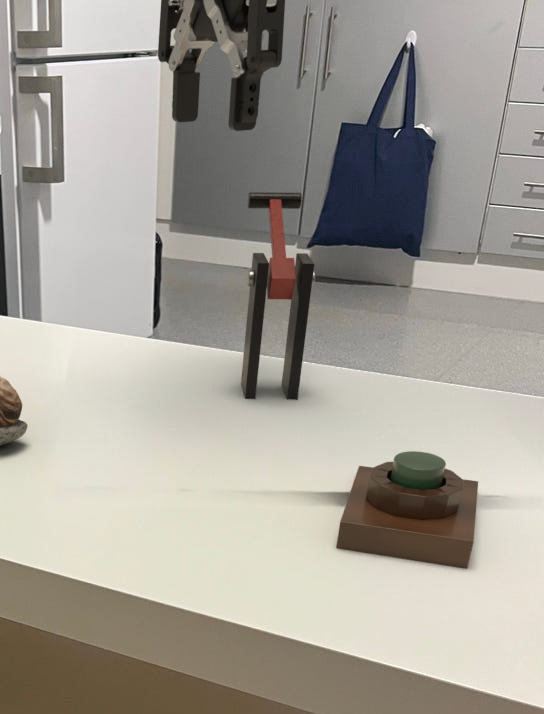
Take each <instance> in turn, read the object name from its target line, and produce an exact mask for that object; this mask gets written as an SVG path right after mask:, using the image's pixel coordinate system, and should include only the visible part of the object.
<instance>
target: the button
mask: <svg viewBox="0 0 544 714" xmlns="http://www.w3.org/2000/svg"><path fill="white" fill-rule="evenodd" d="M392 462H393V467H392V473H391V478H390V481H391V482H392V483H395V484H397V485H400V486H403V487H405V488H412V489H419V490H427V489H438V488H440V487H441V485H442V480H443V475H444V471H445V469H446V466H447V464H446V460H445V459H444V458H442V457H441V456H439V455H437V454H434V453H429V452H426V451H425V452H424V451H414V450H413V451H411V450H409V451H403V452H400V453H397V454H396V455H395V456H394V457H393V461H392Z"/></svg>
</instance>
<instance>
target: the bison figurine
mask: <svg viewBox="0 0 544 714" xmlns="http://www.w3.org/2000/svg"><path fill="white" fill-rule="evenodd" d="M22 410H23V401H22V399H21V398H20V394H19V393H18V391H17V389H15V388H14V387H13V386H12V384H11V383H10V381H9V380H8V379H6V378H4V377H2V376H0V446H4V445H5V444H9V443H11V442H13V441H17V440H18V439H21V438H22V437H23V436H24V435H25V434H26V432H27V430H28V424H27V422H26V421H24V420H21V419H20V417H21V416H22V415H21V414H22Z"/></svg>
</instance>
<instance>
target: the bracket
mask: <svg viewBox="0 0 544 714" xmlns="http://www.w3.org/2000/svg"><path fill="white" fill-rule="evenodd" d="M268 270H269V260H268V258H267V257H266V255H265V253H264V252H252V259H251V269H249V270H247V275H246V276H247V277H246V286H247V287H249V292H248V303H247V314H246V323H245V324H246V325H245V334H244V335H245V336H244V345H243V346H244V347H243V356H242V357H243V358H242V368H241V377H240V378H241V379H240V381H241V382H240V386H241V389H242V393H243V397H244V399H245V400H256V396H257V388H258V378H259V367H260V359H261V358H260V357H261V347H262V339H263V327H264V319H265V310H266V309H265V308H266V298H267V279H268ZM295 273H296V281H295V286H294V291H293V296H292V299H290V308H289V316H288V325H287V333H286V343H285V351H284V361H283V367H282V368H283V369H282V377H281V388H282V390H283V393H284V395H285V398H286V400H289V401H291V400H292V401H294V400H295V401H298V400H299V399H298V398H299V392H300V383H301V376H302V369H303V368H302V366H303V359H304V351H305V343H306V335H307V327H308V318H309V311H310V304H311V296H312V295H311V294H312V288H314V287H315V283H316V271H315V263H314V261H313V260H312V258H311V257H310V255H309V254H308V253H307V252H306V253H305V252H304V253H302V252H301V253H300V252H299V253H298V252H297V253H296V256H295Z"/></svg>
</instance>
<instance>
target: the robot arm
mask: <svg viewBox="0 0 544 714" xmlns="http://www.w3.org/2000/svg"><path fill="white" fill-rule="evenodd" d="M285 9H286V0H160V11H159V30H158V45H157V58H158V61H159V62H160V63H167V64H168V69H169V71H170V72H172V74H173V75H172V96H171V97H172V101H171V108H172V109H171V118H172V120H173V121H174V122H176V123H189V122H195V121H196V120H197V119H198V116H199V104H200V103H199V101H200V82H201V81H200V80H201V72H199V71H198V70H199V68H200V66H201V64H202V62H203V59H204V57H205V54H206V53H207V51H208V50H209V49H211V48H212V47H213V46H214V45H215V42H216V43H218V46H219V49H220V50H221V52H224V53H225V54H226V55H227V58H228V61H229V66H230V69H231V71H232V74H233V76H234V77H231V79H230V80H231V81H230V93H229V94H230V96H229V109H228V128H229V129H230V130H231V131H235V132H241V131H243V132H244V131H252V130H253V129H255V127H256V125H257V119H258V117H259V104H260V103H259V101H260V94H261V93H260V92H261V80H262V77H263V76H265V74H266V72H267V71H269V70H271V69H272V68H278V67H280V65H281V64H282V60H283V47H284V46H283V43H284V28H285V11H286V10H285ZM174 29H175V30H174ZM173 30H174V33H173V39H174V41H175V43H174V45H171V42H172V41H171V40H172V31H173ZM264 31H267V33H268V38H267V39H268V45H267V49H263V47H262V44H263V43H262V42H263V40H264V38H265V35H264ZM190 50H191V51H190ZM244 52H246V56H244Z"/></svg>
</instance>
